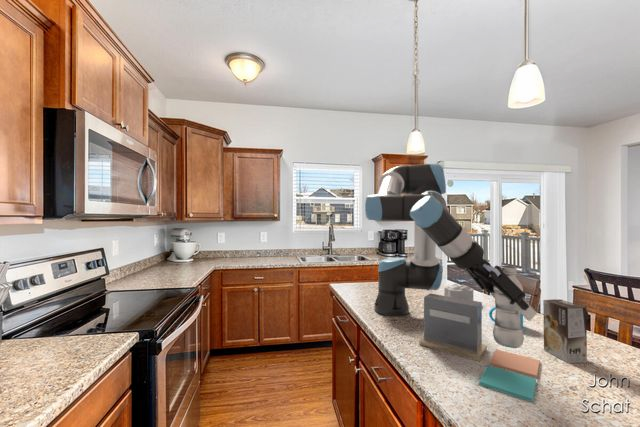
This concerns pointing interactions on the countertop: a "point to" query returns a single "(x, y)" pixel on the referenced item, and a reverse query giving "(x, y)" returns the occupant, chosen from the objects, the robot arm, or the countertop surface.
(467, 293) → the lumpy-topped squat cylinder
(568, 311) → the coffee box
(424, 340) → the box
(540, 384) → the countertop surface
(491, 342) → the countertop surface
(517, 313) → the plastic bottle
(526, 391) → the teal pad
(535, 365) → the terracotta pad
